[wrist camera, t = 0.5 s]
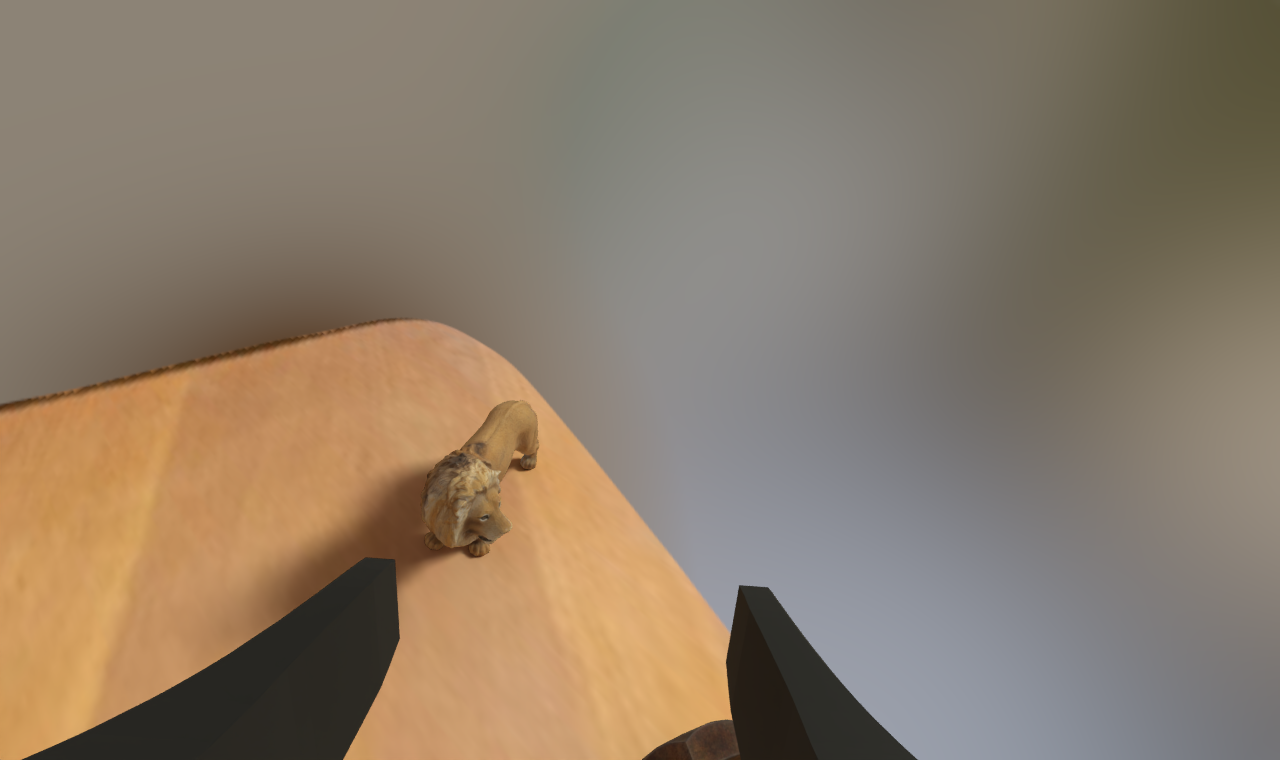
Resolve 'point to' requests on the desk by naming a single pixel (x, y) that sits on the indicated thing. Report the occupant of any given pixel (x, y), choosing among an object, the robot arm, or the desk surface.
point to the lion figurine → (478, 481)
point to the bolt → (701, 744)
